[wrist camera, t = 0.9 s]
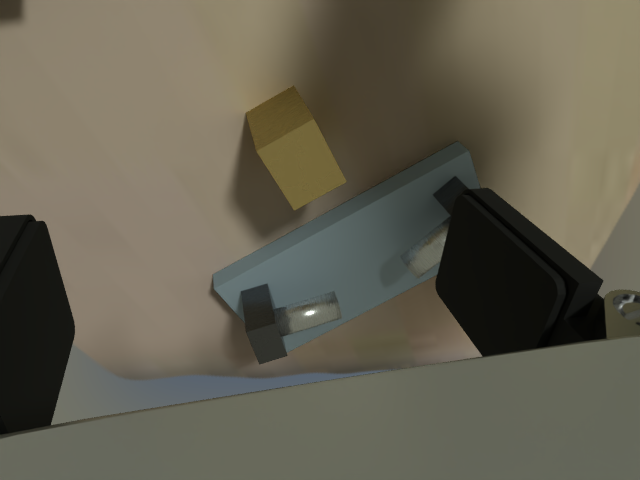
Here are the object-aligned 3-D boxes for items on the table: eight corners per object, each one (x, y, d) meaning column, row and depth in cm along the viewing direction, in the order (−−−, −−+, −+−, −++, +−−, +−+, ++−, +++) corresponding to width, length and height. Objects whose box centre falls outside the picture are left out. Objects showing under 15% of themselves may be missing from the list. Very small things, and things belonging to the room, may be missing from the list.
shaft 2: (455, 175, 39) (485, 205, 35) (477, 203, 41) (508, 234, 37) (384, 234, 41) (405, 269, 37) (408, 258, 43) (431, 294, 39)
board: (457, 141, 39) (469, 150, 38) (486, 232, 46) (496, 243, 44) (213, 274, 41) (213, 288, 40) (273, 343, 48) (276, 358, 46)
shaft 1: (253, 322, 43) (259, 364, 39) (240, 291, 40) (246, 332, 36) (333, 298, 43) (347, 337, 39) (325, 265, 41) (340, 303, 37)
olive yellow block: (245, 112, 34) (256, 151, 28) (293, 85, 34) (314, 118, 28) (278, 166, 37) (294, 210, 31) (323, 141, 37) (346, 181, 31)
